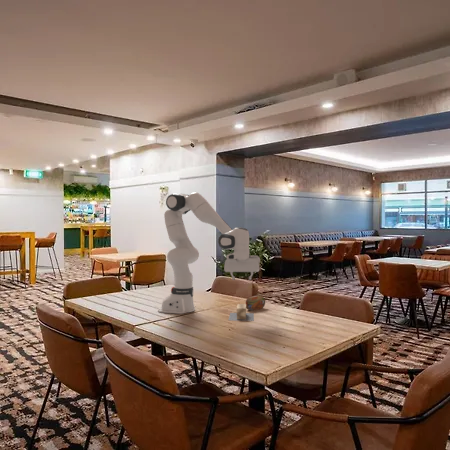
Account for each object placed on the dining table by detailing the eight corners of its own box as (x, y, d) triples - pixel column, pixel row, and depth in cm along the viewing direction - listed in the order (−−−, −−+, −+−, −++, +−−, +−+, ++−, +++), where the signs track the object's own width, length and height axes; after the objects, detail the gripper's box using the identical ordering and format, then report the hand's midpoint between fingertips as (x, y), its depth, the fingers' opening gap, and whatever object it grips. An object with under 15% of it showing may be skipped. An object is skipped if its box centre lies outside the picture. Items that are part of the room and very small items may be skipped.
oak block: (236, 319, 226) (236, 308, 226) (237, 314, 238) (237, 303, 237) (245, 319, 225) (245, 308, 225) (246, 314, 237) (246, 304, 237)
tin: (248, 311, 245) (248, 297, 245) (244, 310, 247) (244, 297, 247) (265, 308, 254) (265, 295, 254) (262, 307, 257) (262, 294, 257)
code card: (228, 320, 223) (228, 320, 223) (230, 313, 241) (230, 312, 241) (253, 321, 222) (253, 320, 222) (253, 313, 240) (253, 313, 240)
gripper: (259, 255, 234) (259, 278, 234) (224, 255, 235) (224, 278, 235) (260, 256, 227) (260, 280, 227) (223, 256, 229) (223, 280, 229)
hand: (241, 279), depth 231 cm, fingers open, 8 cm apart
